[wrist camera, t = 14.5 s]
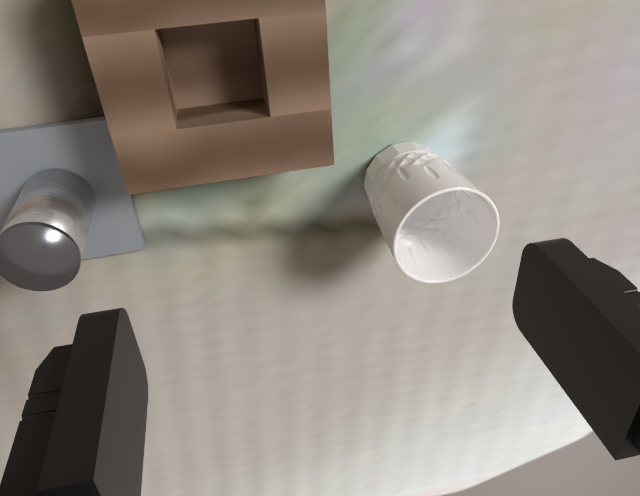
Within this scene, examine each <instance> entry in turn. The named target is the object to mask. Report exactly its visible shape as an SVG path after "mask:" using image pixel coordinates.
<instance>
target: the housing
mask: <svg viewBox="0 0 640 496" xmlns="http://www.w3.org/2000/svg"><path fill="white" fill-rule="evenodd" d="M71 2H72V5H73V8H74V12H75V15H76V19H77V22H78V26H79V29H80V32H81V36H82V39H83V43H84V46H85V50H86V53H87V56H88V60H89V63H90V67H91V70H92V73H93V77H94V80H95V84H96V87H97V91H98V94H99V97H100V101H101V104H102V108H103V111H104V115H105V118H106V121H107V125H108V128H109V132H110V135H111V138H112V142H113V145H114V149H115V152H116V156H117V159H118V162H119V166H120V169H121V173H122V176H123V179H124V183H125V186H126V190H127V193H128V195H132V194H139V193H145V192H152V191H159V190H166V189H173V188H179V187H186V186H193V185H200V184H207V183H213V182H220V181H227V180H234V179H241V178H248V177H254V176H261V175H268V174H275V173H282V172H288V171H295V170H302V169H309V168H316V167H322V166H329V165H334V154H333V136H332V117H331V99H330V81H329V62H328V44H327V26H326V8H325V0H71Z"/></svg>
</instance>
